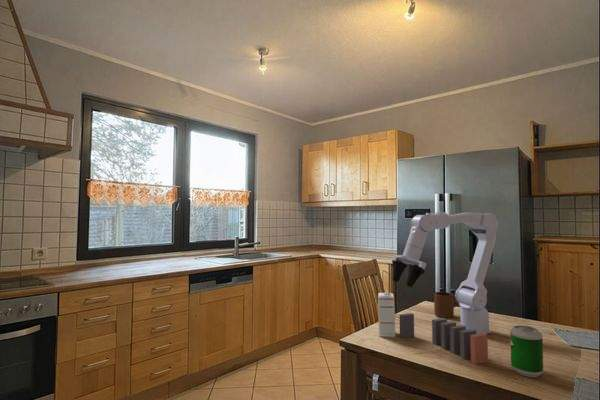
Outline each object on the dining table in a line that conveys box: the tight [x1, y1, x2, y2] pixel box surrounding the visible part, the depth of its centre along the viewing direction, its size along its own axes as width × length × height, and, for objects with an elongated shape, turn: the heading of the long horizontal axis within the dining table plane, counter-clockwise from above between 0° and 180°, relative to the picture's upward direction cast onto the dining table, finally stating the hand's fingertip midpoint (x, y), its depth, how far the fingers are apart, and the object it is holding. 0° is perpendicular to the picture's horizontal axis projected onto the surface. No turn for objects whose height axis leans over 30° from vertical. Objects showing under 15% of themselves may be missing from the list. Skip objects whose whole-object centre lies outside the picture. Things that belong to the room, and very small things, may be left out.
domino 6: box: [470, 333, 489, 365], centre depth 106 cm, size 5×2×8 cm, turn 111°
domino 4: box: [449, 324, 466, 355], centre depth 113 cm, size 5×2×8 cm, turn 112°
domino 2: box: [431, 318, 448, 346], centre depth 121 cm, size 5×2×8 cm, turn 112°
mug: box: [433, 291, 460, 319], centre depth 150 cm, size 12×8×9 cm, turn 92°
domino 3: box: [440, 321, 457, 350], centre depth 117 cm, size 5×2×8 cm, turn 112°
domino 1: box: [399, 312, 415, 340], centre depth 127 cm, size 5×2×8 cm, turn 112°
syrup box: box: [377, 292, 396, 338], centre depth 129 cm, size 6×6×14 cm
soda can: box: [509, 324, 544, 378], centre depth 99 cm, size 8×8×12 cm
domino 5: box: [459, 329, 476, 360], centre depth 109 cm, size 5×2×8 cm, turn 112°
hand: (401, 283), depth 124 cm, fingers open, 7 cm apart
